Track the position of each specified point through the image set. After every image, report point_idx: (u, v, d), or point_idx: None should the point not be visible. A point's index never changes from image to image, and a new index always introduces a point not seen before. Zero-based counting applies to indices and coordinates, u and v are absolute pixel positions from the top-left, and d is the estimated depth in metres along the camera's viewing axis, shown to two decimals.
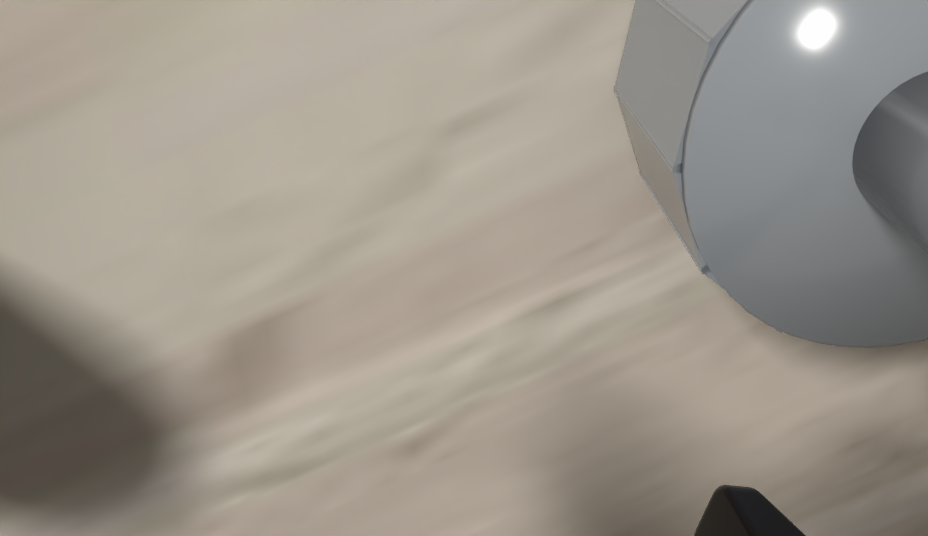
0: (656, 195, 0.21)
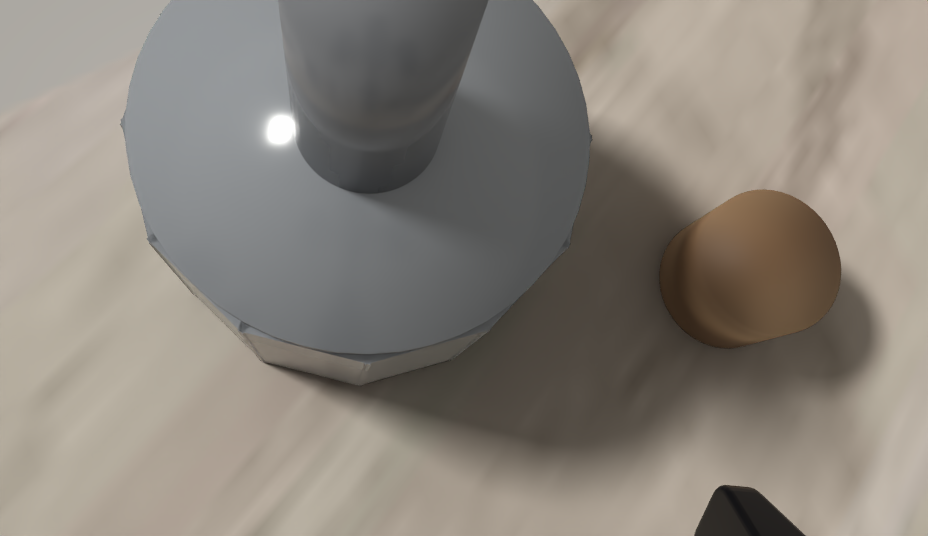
0: None
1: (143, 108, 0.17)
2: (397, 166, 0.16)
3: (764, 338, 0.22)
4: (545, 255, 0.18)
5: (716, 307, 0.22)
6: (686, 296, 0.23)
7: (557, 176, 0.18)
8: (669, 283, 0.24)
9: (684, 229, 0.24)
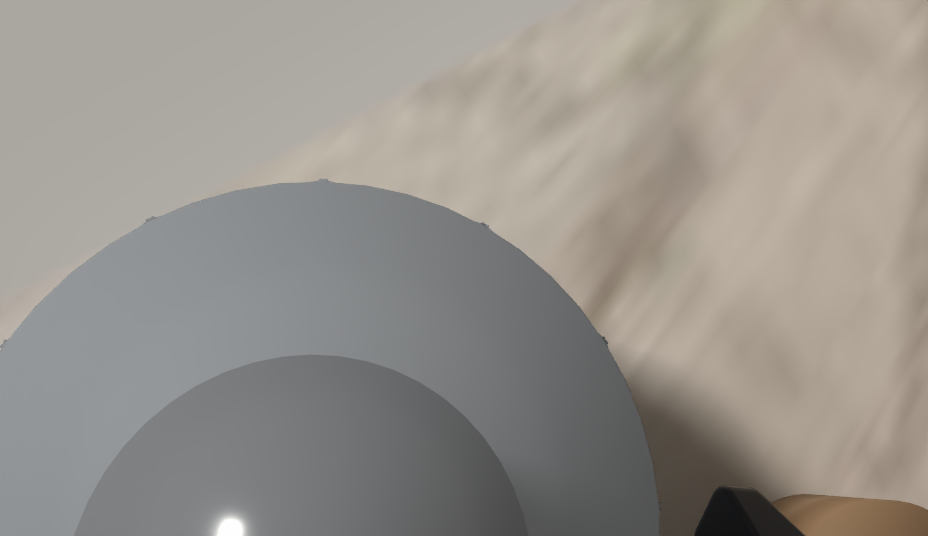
0: None
1: None
2: None
3: None
4: None
5: None
6: None
7: None
8: None
9: None
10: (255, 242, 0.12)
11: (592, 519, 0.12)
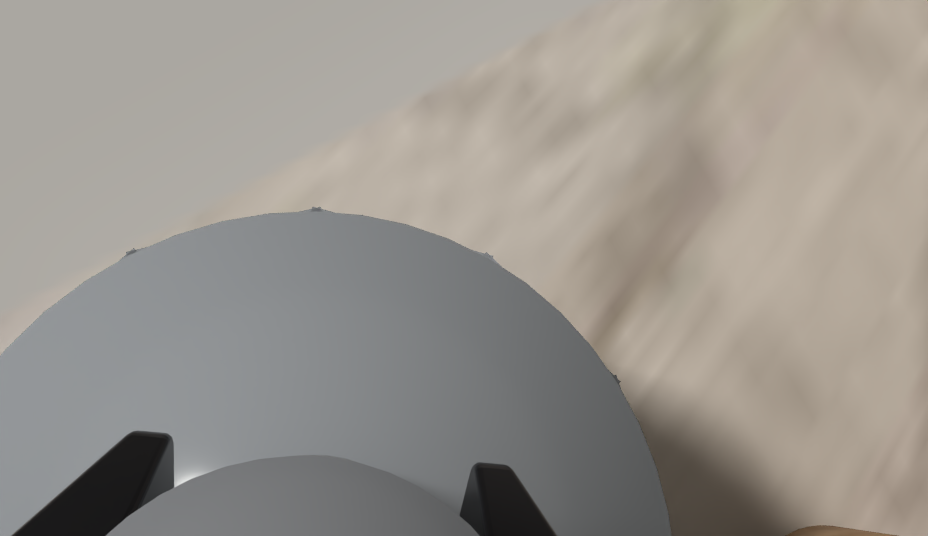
0: None
1: None
2: None
3: None
4: None
5: None
6: None
7: None
8: None
9: None
10: (243, 277, 0.11)
11: None
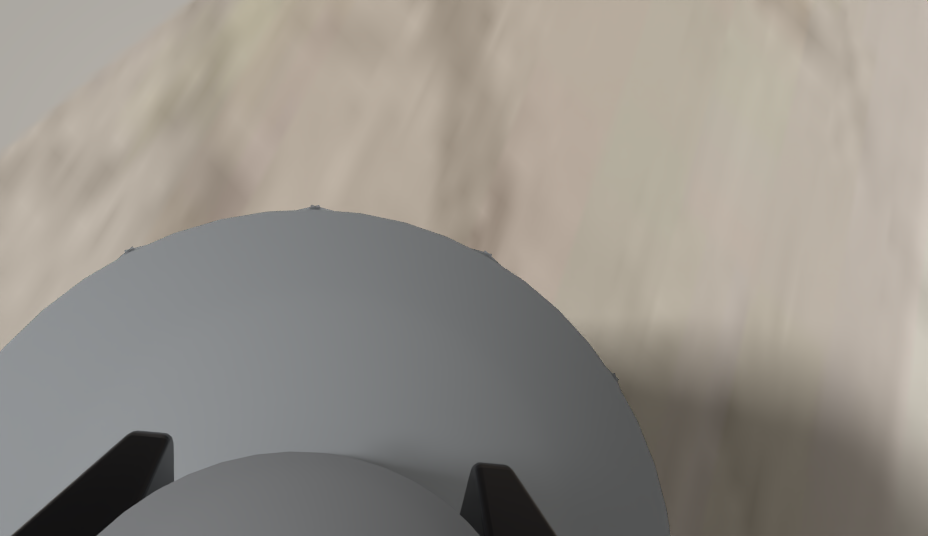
0: None
1: None
2: None
3: None
4: None
5: None
6: None
7: None
8: None
9: None
10: (241, 275, 0.11)
11: None
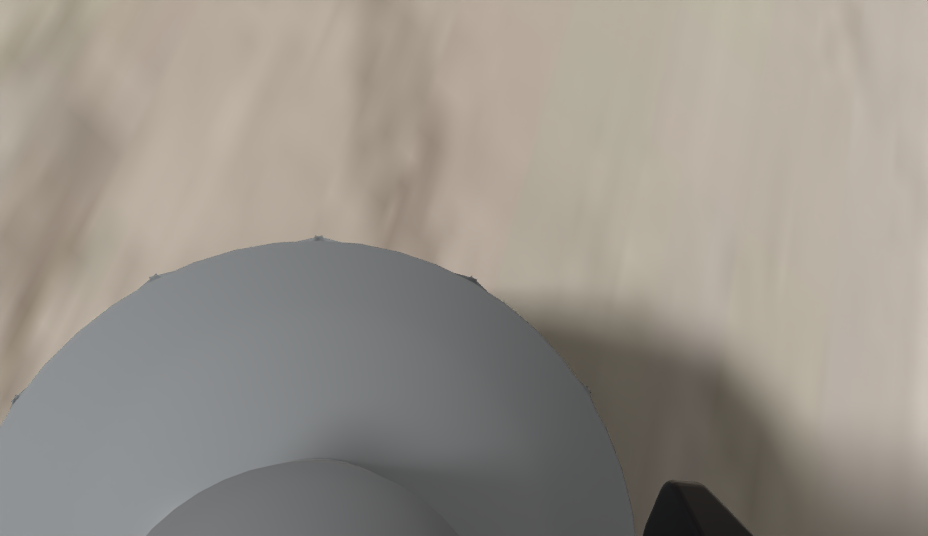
0: None
1: None
2: None
3: None
4: None
5: None
6: None
7: None
8: None
9: None
10: (253, 300, 0.13)
11: None
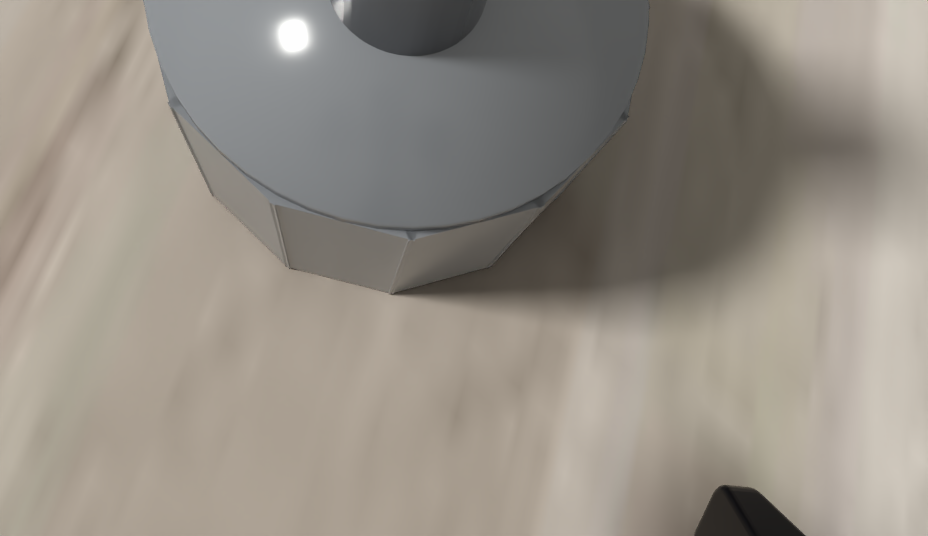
0: (277, 243, 0.19)
1: None
2: (445, 13, 0.14)
3: None
4: (603, 125, 0.16)
5: None
6: None
7: (614, 41, 0.17)
8: None
9: None
10: None
11: None
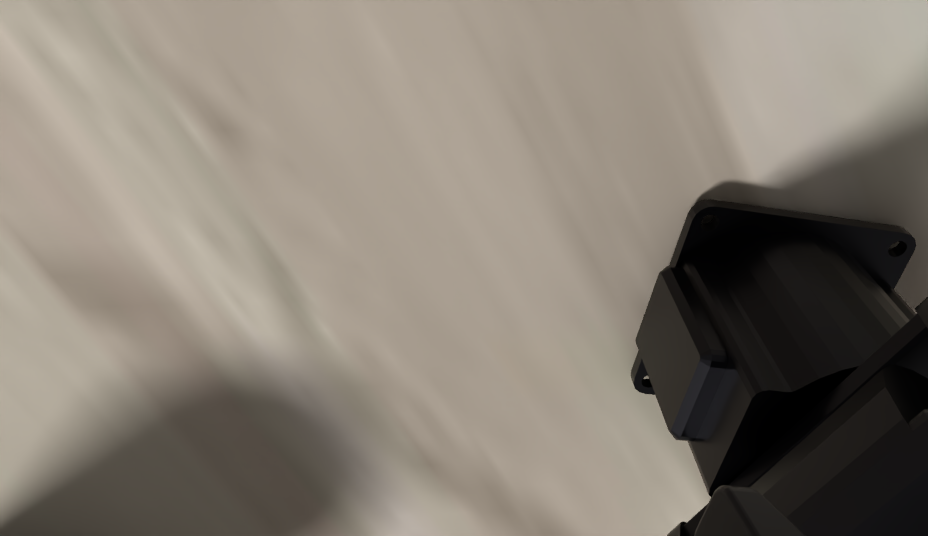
0: None
1: None
2: None
3: None
4: None
5: None
6: None
7: None
8: None
9: None
10: None
11: None
